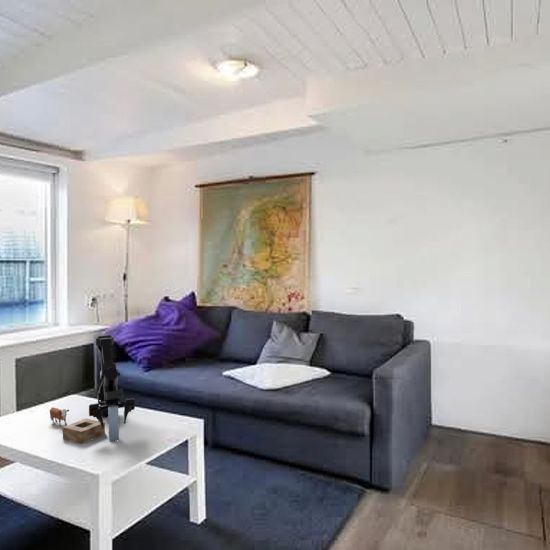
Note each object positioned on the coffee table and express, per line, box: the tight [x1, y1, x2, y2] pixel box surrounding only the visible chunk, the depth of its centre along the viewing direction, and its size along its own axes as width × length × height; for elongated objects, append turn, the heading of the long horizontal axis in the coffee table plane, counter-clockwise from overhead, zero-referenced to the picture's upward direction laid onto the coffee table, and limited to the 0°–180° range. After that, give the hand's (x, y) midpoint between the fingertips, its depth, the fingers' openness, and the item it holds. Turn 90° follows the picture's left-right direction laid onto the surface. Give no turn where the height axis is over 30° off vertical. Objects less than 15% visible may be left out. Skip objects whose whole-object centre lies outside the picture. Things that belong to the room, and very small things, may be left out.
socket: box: [62, 418, 106, 445], centre depth 198 cm, size 12×12×5 cm
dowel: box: [107, 406, 120, 442], centre depth 194 cm, size 4×4×14 cm
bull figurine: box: [49, 406, 70, 427], centre depth 214 cm, size 4×13×8 cm, turn 53°
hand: (114, 425), depth 192 cm, fingers open, 8 cm apart
